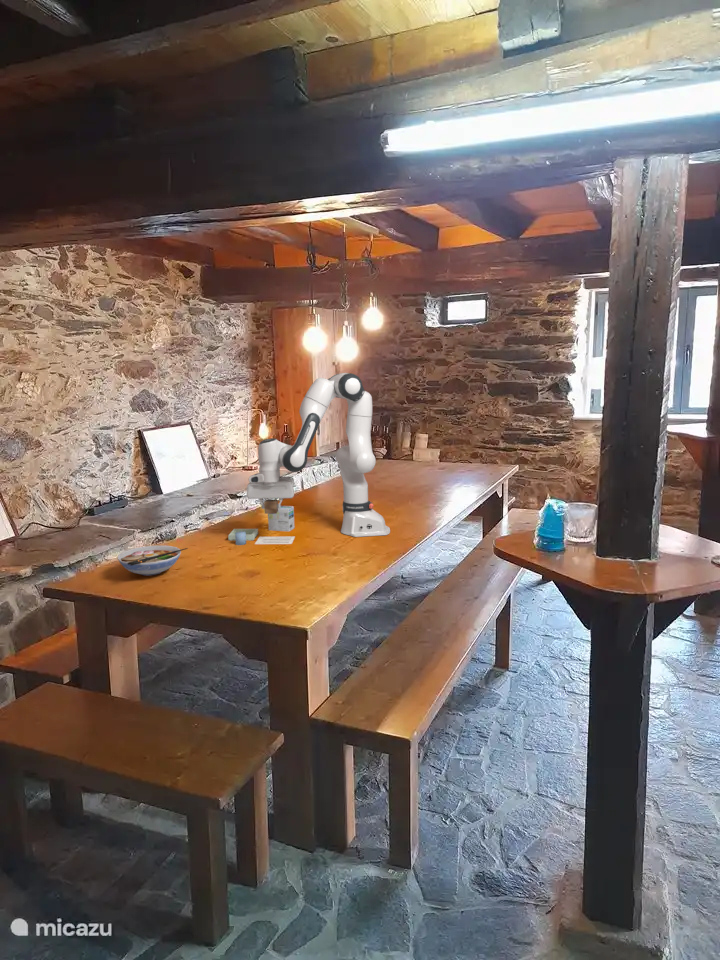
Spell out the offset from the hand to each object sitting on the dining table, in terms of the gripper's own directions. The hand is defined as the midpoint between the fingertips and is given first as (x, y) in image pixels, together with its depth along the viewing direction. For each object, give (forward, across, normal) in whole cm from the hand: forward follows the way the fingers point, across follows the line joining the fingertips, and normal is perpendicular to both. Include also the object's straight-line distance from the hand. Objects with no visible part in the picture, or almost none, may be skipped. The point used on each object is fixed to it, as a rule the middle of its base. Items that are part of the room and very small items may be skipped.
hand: (271, 508), depth 284 cm
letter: (+15, -1, -1) cm, 15 cm away
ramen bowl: (+14, +39, +42) cm, 59 cm away
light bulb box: (+15, -1, -20) cm, 25 cm away
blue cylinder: (+15, +13, +4) cm, 20 cm away
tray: (+15, +14, -6) cm, 21 cm away
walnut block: (+2, 0, 0) cm, 2 cm away
